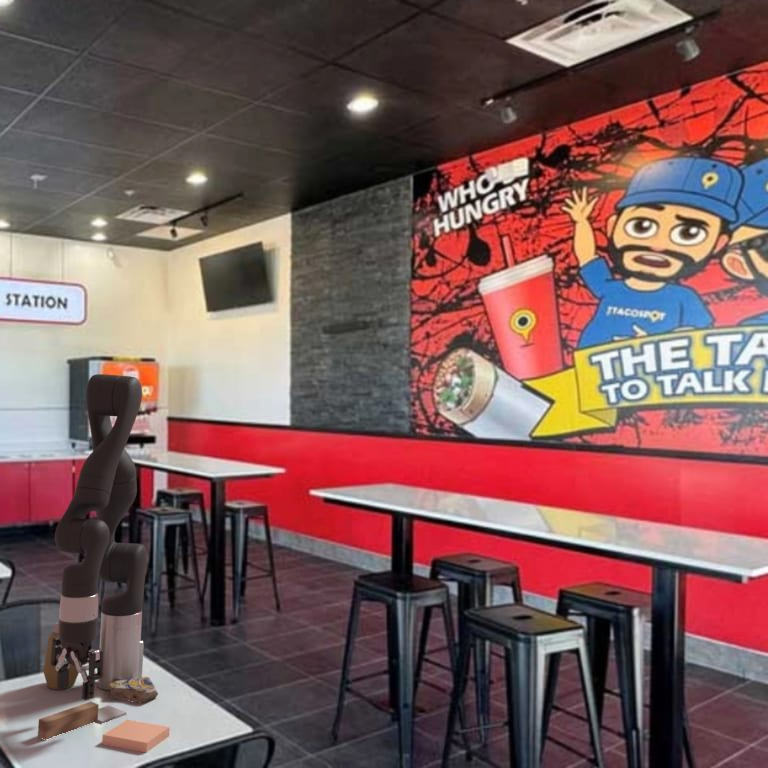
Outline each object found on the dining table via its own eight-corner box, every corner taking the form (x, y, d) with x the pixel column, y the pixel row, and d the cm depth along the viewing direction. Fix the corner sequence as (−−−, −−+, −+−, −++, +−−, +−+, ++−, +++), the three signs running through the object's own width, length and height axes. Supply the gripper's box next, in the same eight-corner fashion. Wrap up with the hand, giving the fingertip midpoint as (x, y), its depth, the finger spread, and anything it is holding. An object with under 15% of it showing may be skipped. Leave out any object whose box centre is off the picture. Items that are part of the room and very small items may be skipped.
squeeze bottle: (43, 681, 183) (47, 604, 184) (79, 678, 186) (84, 603, 187) (41, 693, 176) (45, 613, 176) (79, 690, 179) (83, 612, 179)
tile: (102, 734, 152) (147, 742, 149) (127, 719, 160) (169, 727, 157) (102, 746, 152) (146, 754, 149) (126, 730, 159) (169, 738, 157)
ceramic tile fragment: (100, 687, 173) (117, 672, 183) (99, 702, 173) (116, 686, 183) (153, 692, 172) (167, 676, 182) (151, 706, 172) (166, 690, 182)
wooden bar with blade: (50, 743, 151) (51, 724, 151) (32, 735, 154) (33, 717, 155) (126, 715, 166) (127, 698, 166) (108, 708, 170) (109, 691, 170)
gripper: (115, 618, 159) (112, 697, 159) (74, 604, 167) (70, 679, 167) (83, 626, 152) (79, 708, 152) (41, 612, 160) (38, 690, 160)
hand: (74, 693), depth 160 cm, fingers open, 8 cm apart
